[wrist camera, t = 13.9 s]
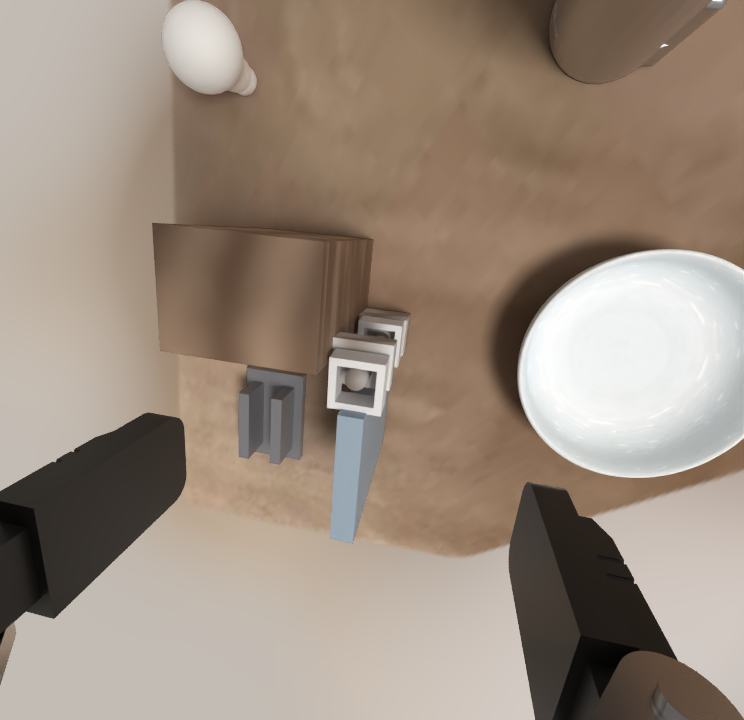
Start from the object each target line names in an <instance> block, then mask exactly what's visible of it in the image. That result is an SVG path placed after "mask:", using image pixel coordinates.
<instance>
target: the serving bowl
mask: <svg viewBox="0 0 744 720" xmlns="http://www.w3.org/2000/svg"><path fill="white" fill-rule="evenodd" d="M517 383H518V391H519V397H520V400H521V404H522V407H523V409H524V412H525V414H526V416H527V418H528V420H529V422H530V424H531V425H532V427H533V428H534V430H535V431H536V432H537V434H538V435H539V436H540V437H541V438H542V439H543V441H544V442H545V443H546V444H547V445H548V446H550V447H551V448H552V449H553V450H554V451H556V452H557V453H558V454H560V455H561V456H562V457H564V458H565V459H567V460H569V461H571V462H572V463H574V464H576V465H578V466H581V467H583V468H586V469H588V470H591V471H594V472H597V473H601V474H605V475H611V476H617V477H629V478H645V477H657V476H663V475H669V474H673V473H677V472H681V471H685V470H688V469H691V468H694V467H696V466H698V465H701V464H703V463H705V462H708V461H710V460H712V459H713V458H715V457H717V456H719V455H721V454H722V453H724V452H726V451H727V450H729V449H730V448H731V447H733V446H734V445H736V444H737V443H738V442H740V441H741V440H742V439H743V438H744V270H743V269H741V268H740V267H738V266H736V265H734V264H732V263H731V262H729V261H726V260H724V259H722V258H719V257H716V256H713V255H710V254H706V253H702V252H697V251H691V250H682V249H655V250H646V251H639V252H634V253H630V254H625V255H622V256H618V257H615V258H612V259H609V260H606V261H603V262H601V263H599V264H596V265H594V266H592V267H590V268H588V269H586V270H584V271H583V272H581V273H579V274H577V275H576V276H574V277H573V278H571V279H570V280H569V281H567V282H566V283H565V284H563V285H562V286H561V287H560V288H559V289H557V290H556V291H555V292H554V293H553V294H552V295H551V296H550V297H549V298H548V299H547V301H546V302H545V303H544V304H543V305H542V307H541V308H540V309H539V311H538V312H537V313H536V315H535V316H534V318H533V320H532V321H531V323H530V325H529V327H528V329H527V331H526V333H525V336H524V339H523V342H522V345H521V348H520V353H519V359H518V367H517Z"/></svg>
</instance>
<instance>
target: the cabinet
mask: <svg viewBox="0 0 744 720" xmlns="http://www.w3.org/2000/svg"><path fill="white" fill-rule="evenodd" d="M152 226H153V243H154V259H155V276H156V292H157V308H158V324H159V340H160V351H163V352H170V353H176V354H183V355H189V356H195V357H202V358H208V359H214V360H221V361H227V362H234V363H240V364H246V365H253V366H259V367H266V368H272V369H278V370H285V371H291V372H298V373H304V374H310V375H317V374H318V373H319V372H320V371H321V370H322V369H323V368H324V367H325V366H326V365H327V364H328V363H329V357H330V356H331V354H332V353H333V352H334V351H335V349H336V348H339V349H346V350H353V351H360V352H367V353H374V354H380V355H387V356H390V361H389V370H388V379H387V388H386V391H389V390H390V387H391V384H392V380H393V372H394V364H395V355H396V347H397V340H396V339H394V338H395V332H393V331H386V330H379V329H371V328H368V331H367V335H360V334H356V333H357V332H358V322H359V320H360V318H361V317H362V316H363V315H364V316H371V317H379V318H386V319H394V320H401V321H404V330H403V338H402V347H401V355H400V356H403V354H404V351H405V348H406V345H407V337H408V329H409V321H410V313H402V312H395V311H387V310H379V309H372V308H367V303H368V293H369V282H370V272H371V261H372V251H373V240H370V239H361V238H351V237H342V236H333V235H323V234H314V233H304V232H295V231H286V230H276V229H267V228H247V227H226V226H204V225H182V224H159V223H152ZM376 378H377V372H374V371H368V370H361V369H355V368H348V367H343V374H342V384H346V386H347V387H348V388H349V389H351V390H354V391H359V390H361V389H363V388H364V387H366V388H373V389H375V388H376Z"/></svg>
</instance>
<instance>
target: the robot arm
mask: <svg viewBox="0 0 744 720" xmlns="http://www.w3.org/2000/svg"><path fill="white" fill-rule="evenodd" d="M726 1H727V0H556V1H555V4H554V7H553V10H552V14H551V17H550V24H549V40H550V47H551V50H552V53H553V56H554V58H555V60H556V62H557V63H558V65H559V67H560V68H561V69H562V70H563V71H564V72H565V73H566V74H567V75H569V76H571V77H572V78H574V79H576V80H578V81H582V82H585V83H596V84H600V83H606V82H611V81H614V80H616V79H619V78H621V77H624V76H625V75H627V74H629V73H630V72H632V71H633V70H635V69H636V68H638V67H640V66H653V65H655V64H656V63H657V62H658V61H659V60H661V59H662V58H663V57H664V56H665V55H667V54H668V53H669V52H670V51H671V50H673V49H674V48H675V47H676V46H677V45H679V44H680V43H681V42H682V41H683V40H684V39H686V38H687V37H688V36H689V35H690V34H692V33H693V32H694V31H695V30H696V29H698V28H699V27H700V26H701V25H702V24H704V23H705V22H706V21H707V20H708V19H710V18H711V17H712V16H713V15H714V14H716V13H717V12H718V11H719V10H720V9H722V7H723V6H724V5H725V3H726ZM185 481H186V456H185V435H184V425H183V422H182V421H181V420H180V419H179V418H176V417H170V416H165V415H159V414H154V413H145V414H143V415H142V416H139V417H138V418H136V419H134V420H132V421H131V422H129V423H127V424H125V425H124V426H122V427H120V428H119V429H117V430H115V431H113V432H110V433H107V434H104V435H101V436H98V437H95V438H93V439H92V440H90V441H88V442H86V443H85V444H83V445H81V446H79V447H78V448H76V449H75V450H74V452H69V453H67V454H65V455H63V456H62V457H60V458H58V459H57V461H56V462H51V463H50V464H48V465H46V466H44V467H42V468H40V469H39V470H37V471H35V472H33V473H32V474H30V475H28V476H26V477H25V478H23V479H21V480H19V481H18V482H16V483H14V484H12V485H10V486H9V487H7V488H5V489H3V490H2V491H0V684H1V681H2V678H3V675H4V672H5V668H6V665H7V662H8V659H9V655H10V652H11V649H12V646H13V643H14V640H15V635H16V630H15V625H14V621H15V620H17V619H18V618H19V617H20V616H21V615H22V614H23V613H25V612H26V611H27V612H31V613H34V614H38V615H42V616H45V617H49V618H53V619H54V618H55V617H56V616H57V615H58V614H59V613H60V612H61V611H62V610H64V609H65V608H66V607H67V606H68V605H69V604H70V603H71V602H72V601H73V600H74V599H75V598H76V597H77V596H78V595H79V594H80V593H81V592H82V591H83V590H84V589H85V588H86V587H87V586H88V585H89V584H90V583H91V582H93V581H94V580H95V578H97V577H98V576H99V575H100V574H101V573H102V572H103V571H104V570H105V569H106V568H107V567H108V566H109V565H110V564H111V563H112V562H113V561H114V560H115V559H116V558H117V557H118V556H119V555H120V554H122V553H123V552H124V551H125V550H126V549H127V548H128V547H129V546H130V545H131V544H132V543H133V542H134V541H135V540H136V539H137V538H138V537H139V536H140V535H141V534H142V533H143V532H144V531H145V530H146V529H147V528H148V527H149V526H151V525H152V523H153V522H155V521H156V520H157V519H158V518H159V517H160V516H161V515H162V514H163V513H164V512H165V511H166V510H167V509H168V508H169V507H170V506H171V505H172V504H173V503H174V502H175V501H176V500H177V499H178V497H179V496H180V494H181V492H182V490H183V488H184V485H185ZM509 573H510V579H511V584H512V590H513V596H514V601H515V607H516V613H517V619H518V624H519V630H520V635H521V641H522V647H523V652H524V658H525V664H526V669H527V675H528V680H529V686H530V692H531V698H532V703H533V709H534V714H535V720H744V719H743V717H742V716H741V714H740V713H739V712H738V710H737V709H736V708H735V706H734V705H733V704H732V703H731V702H730V701H729V700H728V698H727V697H726V696H725V695H724V694H722V692H721V691H720V690H718V688H717V687H715V686H714V685H713V684H712V683H710V682H709V681H708V680H707V679H706V678H704V677H703V676H702V675H700V674H699V673H698V672H696V671H695V670H693V669H691V668H690V667H688V666H686V665H685V664H683V663H681V662H679V661H678V660H677V658H676V656H675V654H674V652H673V651H672V649H671V647H670V645H669V643H668V641H667V639H666V638H665V636H664V634H663V632H662V631H661V628H660V626H659V625H658V623H657V621H656V619H655V617H654V615H653V613H652V612H651V610H650V608H649V606H648V604H647V602H646V600H645V599H644V597H643V595H642V593H641V591H640V589H639V587H638V586H637V584H634V578H633V576H632V574H631V572H630V571H629V569H628V567H627V565H625V564H624V559H623V558H622V556H621V554H620V552H619V550H618V548H617V547H616V545H615V543H614V541H613V539H612V538H611V537H610V536H609V535H608V534H607V533H606V532H605V531H604V530H603V529H602V528H601V527H600V526H599V525H598V524H597V523H596V522H595V521H594V520H593V519H592V518H587V517H581V516H578V513H577V511H576V509H575V507H574V505H573V503H572V500H571V498H570V496H569V494H568V492H567V490H566V489H564V488H559V487H554V486H548V485H542V484H537V483H531V482H527V483H526V484H525V486H524V489H523V492H522V496H521V500H520V505H519V509H518V513H517V517H516V521H515V525H514V529H513V533H512V537H511V542H510V548H509Z"/></svg>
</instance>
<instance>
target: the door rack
mask: <svg viewBox="0 0 744 720" xmlns="http://www.w3.org/2000/svg"><path fill="white" fill-rule="evenodd" d="M305 391H306V374H302V373H295V372H289V371H283V370H276V369H270V368H263V367H257V366H249V367H248V368H247V387H246V388H245V389H244V390H242V391H241V392H240V393H239V457H242V458H247V459H249V458H250V456H251V455H252V454H253V453H254V452H260V453H266V454H270V463H273V464H279V465H280V464H281V462H282V461H283V459H284V458H285V457H287V458H292V459H298V460H300V458H301V457H302V449H303V429H304V410H305Z"/></svg>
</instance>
